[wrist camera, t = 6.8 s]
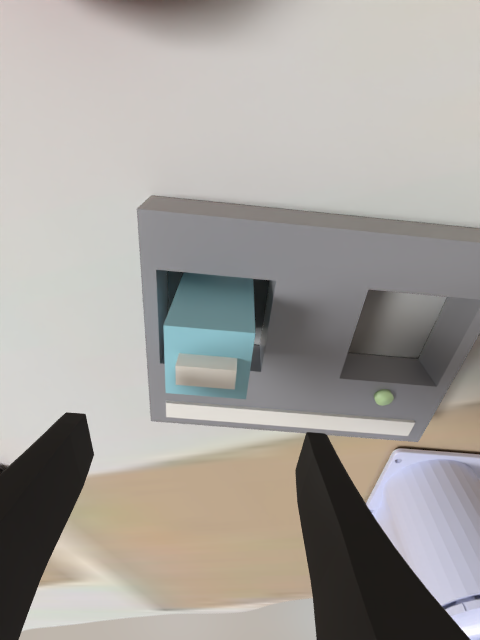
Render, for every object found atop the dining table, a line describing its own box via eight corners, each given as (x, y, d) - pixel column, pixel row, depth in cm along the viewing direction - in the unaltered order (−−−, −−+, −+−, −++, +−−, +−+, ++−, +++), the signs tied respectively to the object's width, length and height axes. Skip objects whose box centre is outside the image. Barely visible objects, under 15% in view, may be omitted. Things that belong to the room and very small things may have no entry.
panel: (402, 412, 24) (420, 446, 22) (159, 392, 23) (149, 424, 21) (493, 230, 17) (533, 249, 15) (151, 195, 16) (134, 210, 14)
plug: (246, 326, 20) (246, 413, 15) (186, 321, 20) (161, 406, 14) (252, 271, 18) (255, 345, 13) (186, 265, 18) (158, 337, 13)
